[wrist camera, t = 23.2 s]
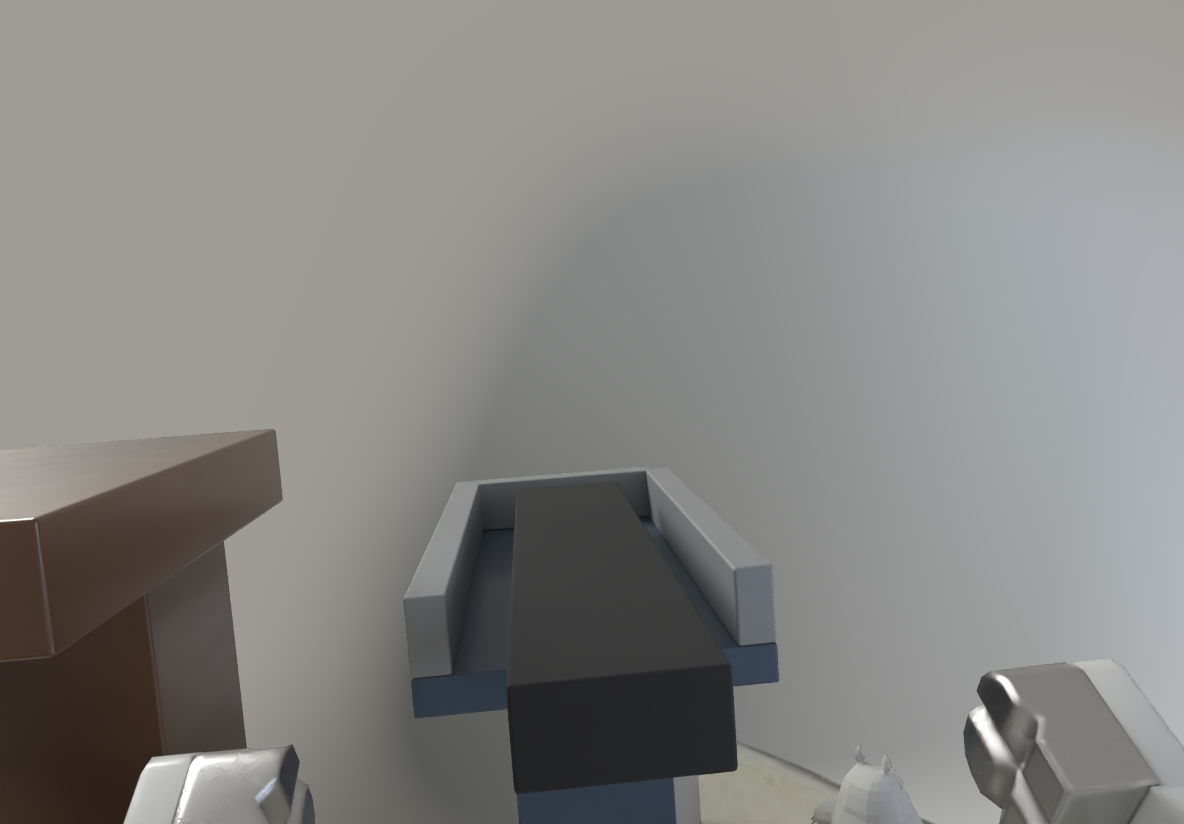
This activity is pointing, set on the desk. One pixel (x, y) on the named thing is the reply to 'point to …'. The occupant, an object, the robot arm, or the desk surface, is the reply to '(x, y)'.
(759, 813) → the desk surface
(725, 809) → the desk surface
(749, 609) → the pad mount
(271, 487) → the pad stand
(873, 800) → the figurine
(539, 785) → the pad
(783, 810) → the desk surface
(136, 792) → the robot arm
